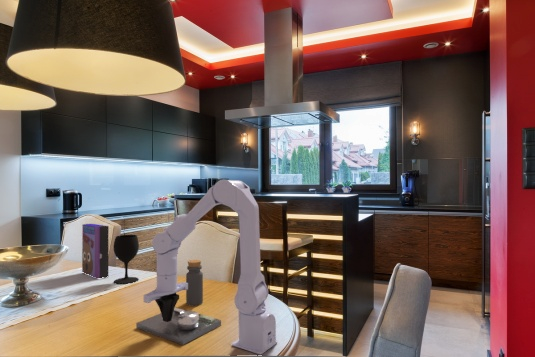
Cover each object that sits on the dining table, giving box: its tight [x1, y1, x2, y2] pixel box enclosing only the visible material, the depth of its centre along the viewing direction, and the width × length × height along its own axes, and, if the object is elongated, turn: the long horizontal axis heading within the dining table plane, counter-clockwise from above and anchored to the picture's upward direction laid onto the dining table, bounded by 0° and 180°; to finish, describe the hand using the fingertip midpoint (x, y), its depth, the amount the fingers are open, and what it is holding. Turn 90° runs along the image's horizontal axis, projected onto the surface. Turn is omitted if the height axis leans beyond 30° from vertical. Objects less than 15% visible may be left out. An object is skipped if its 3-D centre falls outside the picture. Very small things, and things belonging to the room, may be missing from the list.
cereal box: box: [81, 223, 110, 279], centre depth 160 cm, size 17×5×24 cm, turn 50°
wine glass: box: [113, 234, 140, 285], centre depth 150 cm, size 10×10×20 cm
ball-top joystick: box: [172, 307, 200, 330], centre depth 98 cm, size 12×6×4 cm, turn 56°
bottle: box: [185, 259, 204, 307], centre depth 120 cm, size 6×6×15 cm
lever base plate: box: [135, 307, 222, 346], centre depth 100 cm, size 20×15×2 cm
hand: (167, 320), depth 97 cm, fingers closed
